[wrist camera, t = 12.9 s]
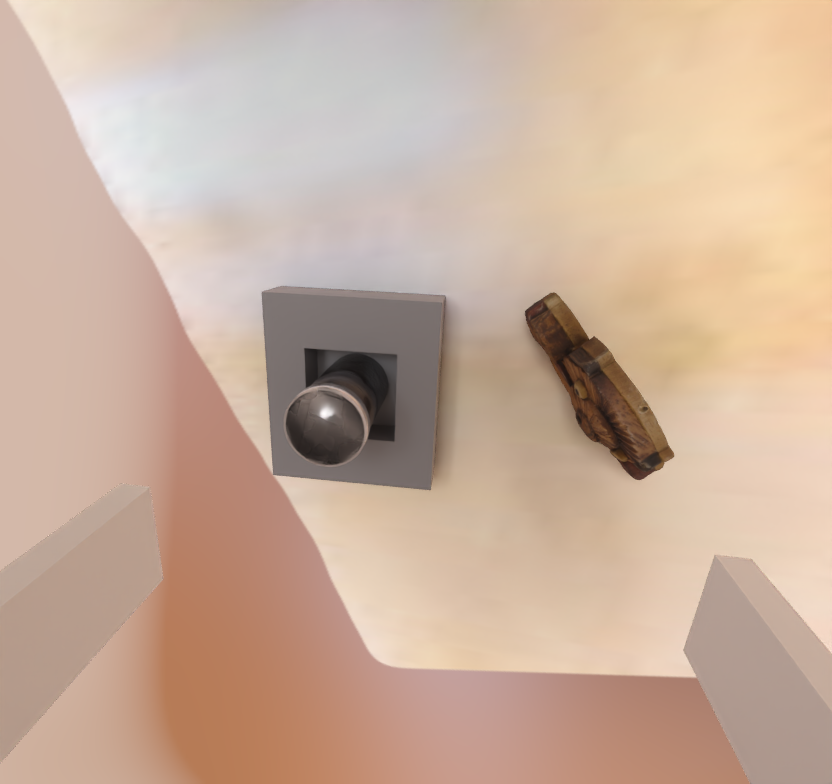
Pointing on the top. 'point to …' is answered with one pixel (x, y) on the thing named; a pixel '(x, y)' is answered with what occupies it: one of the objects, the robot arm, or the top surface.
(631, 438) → the wooden carving
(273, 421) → the grey recessed frame block
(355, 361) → the lens
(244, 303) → the top surface
